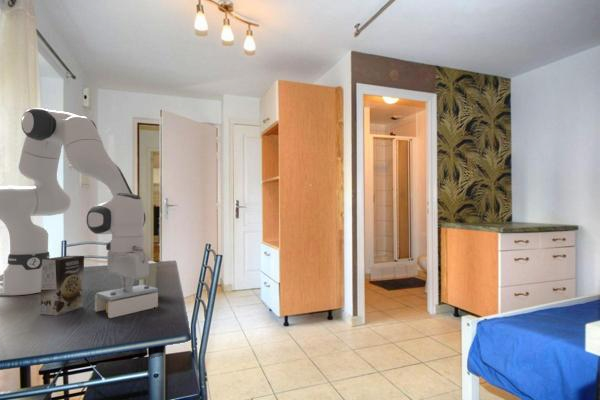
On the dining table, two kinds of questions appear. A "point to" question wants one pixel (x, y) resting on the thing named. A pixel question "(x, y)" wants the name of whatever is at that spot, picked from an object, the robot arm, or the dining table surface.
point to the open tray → (127, 304)
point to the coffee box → (61, 284)
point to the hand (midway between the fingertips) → (127, 290)
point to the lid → (126, 292)
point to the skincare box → (150, 275)
